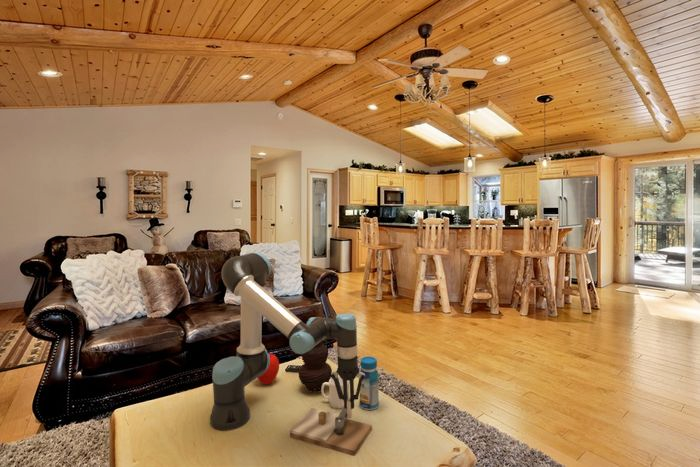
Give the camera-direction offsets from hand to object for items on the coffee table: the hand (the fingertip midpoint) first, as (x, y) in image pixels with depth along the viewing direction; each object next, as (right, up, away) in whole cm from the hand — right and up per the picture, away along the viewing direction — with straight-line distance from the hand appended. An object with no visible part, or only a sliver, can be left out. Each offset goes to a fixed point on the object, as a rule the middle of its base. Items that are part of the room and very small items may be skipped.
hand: (349, 416), depth 144 cm
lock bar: (-2, -3, -1) cm, 4 cm away
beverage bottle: (+8, -3, +16) cm, 18 cm away
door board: (-7, -5, -3) cm, 9 cm away
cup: (-6, -3, +18) cm, 19 cm away
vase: (-16, -2, +31) cm, 35 cm away
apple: (-39, -2, +37) cm, 54 cm away
